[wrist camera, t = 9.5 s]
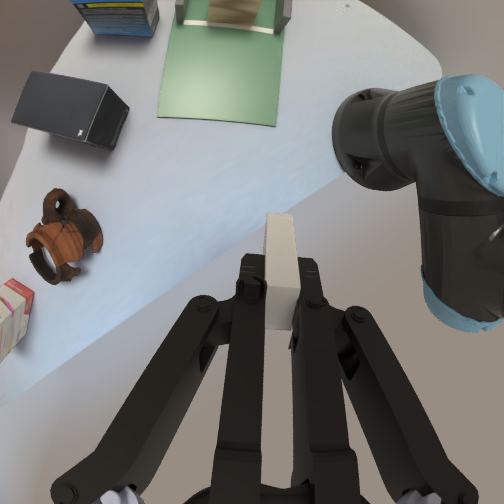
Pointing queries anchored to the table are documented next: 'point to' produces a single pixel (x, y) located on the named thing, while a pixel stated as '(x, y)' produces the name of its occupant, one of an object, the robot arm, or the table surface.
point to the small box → (71, 109)
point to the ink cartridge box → (13, 314)
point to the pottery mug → (62, 237)
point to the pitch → (224, 65)
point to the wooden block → (233, 11)
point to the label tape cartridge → (120, 16)
